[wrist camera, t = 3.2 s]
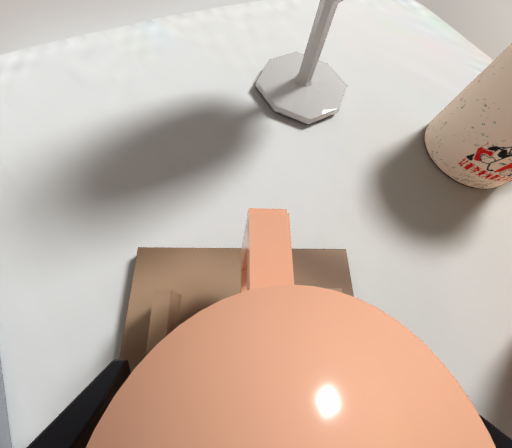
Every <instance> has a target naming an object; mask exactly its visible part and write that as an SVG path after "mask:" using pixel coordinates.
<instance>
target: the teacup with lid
mask: <svg viewBox="0 0 512 448" xmlns="http://www.w3.org/2000/svg"><path fill="white" fill-rule="evenodd" d="M425 145H426V148H427V151H428V153H429V155H430V157H431V158H432V160H433V161H434V163H435V164H436V165H437V166H438V167H439V168H440V169H441V170H442V171H443V172H444V173H445V174H447V175H448V176H449V177H451V178H453V179H454V180H456V181H458V182H460V183H462V184H464V185H467V186H470V187H475V188H482V189H487V188H495V187H498V186H501V185H503V184H505V183H507V182H509V181H511V180H512V44H511V45H509V46H508V47H507V48H506V49H505V50H504V51H503V52H502V53H501V54H500V55H499V56H498V57H497V58H496V59H495V60H494V61H493V62H492V63H491V64H490V65H489V66H488V67H487V68H486V69H485V70H484V71H483V72H482V73H480V74H479V75H478V76H477V77H476V78H475V79H474V80H473V81H472V82H471V83H470V84H469V85H468V86H467V87H466V88H465V89H464V90H463V91H462V92H461V93H460V94H459V95H458V96H457V97H456V98H455V99H454V100H453V101H452V102H450V103H449V104H448V105H447V106H446V107H445V108H444V109H443V110H442V111H441V112H440V113H439V114H438V115H437V116H436V117H435V118H434V119H433V120H432V121H431V122H430V123H429V125H428V126H427V128H426V131H425Z"/></svg>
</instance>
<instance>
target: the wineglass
mask: <svg viewBox="0 0 512 448" xmlns="http://www.w3.org/2000/svg"><path fill="white" fill-rule="evenodd" d="M341 1H343V0H320V3H319V7H318V10H317V13H316V17H315V20H314V23H313V27H312V30H311V33H310V37H309V40H308V44H307V47H306V50H305V54H301V53H298V52H294V53H291V54H287V55H284V56H280V57H277V58H273V59H270V60H269V61H268V63H267V64H266V66H265V68H264V69H263V71H262V73H261V74H260V76H259V78H258V79H257V81H256V84H255V85H256V88H257V89H258V90H259V92H260V93H261V94H262V96H263V97H264V98H265V100H266V101H267V102H268V103H269V105H270V106H271V107H272V109H273V110H274V111H275V112H278V113H280V114H283V115H285V116H288V117H290V118H293V119H295V120H298V121H301V122H303V123H306V124H308V125H309V124H311V123H314V122H316V121H318V120H321V119H323V118H326V117H328V116H331V115H333V114H335V113H337V112H338V111H339V108H340V105H341V102H342V99H343V96H344V94H345V91H346V88H347V84H346V83H345V82H344V81H343V80H342V79H341V78H340V77H339V76H338V75H337V74H336V72H335V71H334V70H333V69H332V68H331V67H330V66H329V65H328V64H327V63H325V62H322V61H320V60H319V57H320V54H321V51H322V48H323V45H324V42H325V39H326V37H327V34H328V31H329V28H330V25H331V22H332V19H333V16H334V14H335V11H336V8H337V5H338V3H339V2H341Z"/></svg>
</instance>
